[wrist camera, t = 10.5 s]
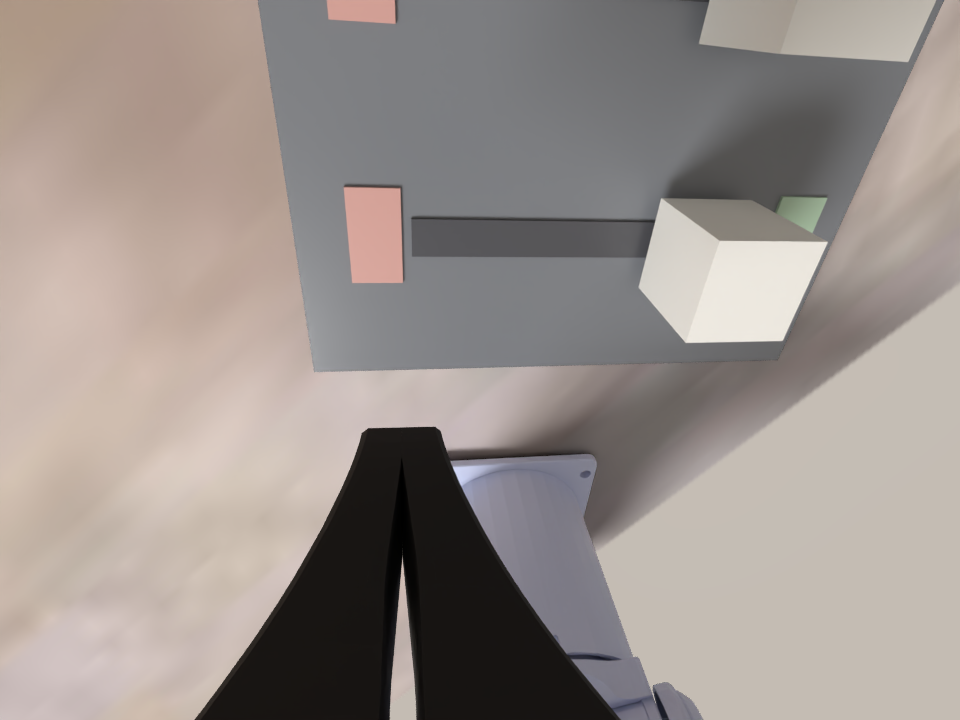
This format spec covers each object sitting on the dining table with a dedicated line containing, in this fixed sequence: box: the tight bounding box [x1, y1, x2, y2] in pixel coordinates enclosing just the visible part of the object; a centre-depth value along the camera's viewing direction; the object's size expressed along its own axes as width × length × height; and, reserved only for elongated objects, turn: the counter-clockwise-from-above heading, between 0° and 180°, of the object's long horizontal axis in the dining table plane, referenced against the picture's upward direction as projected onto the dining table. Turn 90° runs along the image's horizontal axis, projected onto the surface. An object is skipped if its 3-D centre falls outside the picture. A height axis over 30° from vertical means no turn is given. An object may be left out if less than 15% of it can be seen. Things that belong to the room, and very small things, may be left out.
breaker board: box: [258, 0, 944, 372], centre depth 15 cm, size 16×18×2 cm
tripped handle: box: [639, 198, 828, 343], centre depth 15 cm, size 3×3×4 cm
